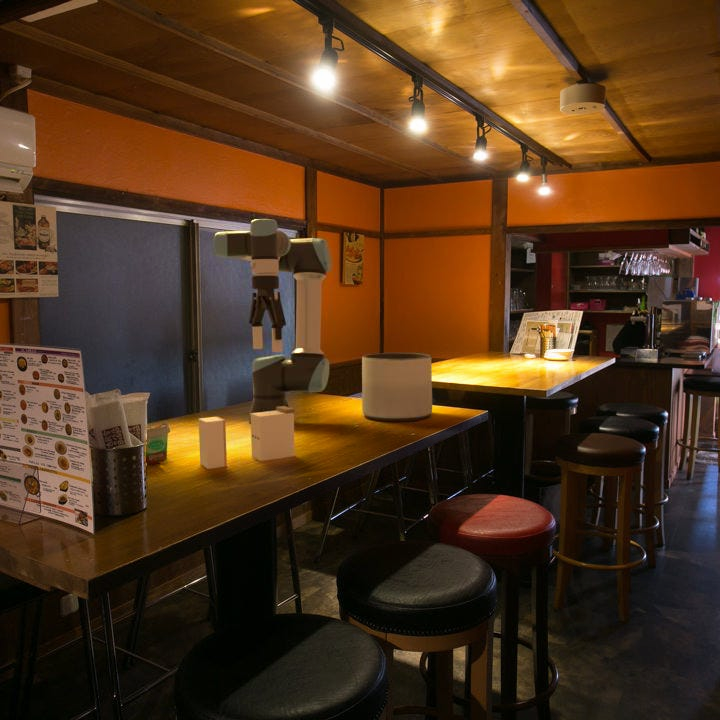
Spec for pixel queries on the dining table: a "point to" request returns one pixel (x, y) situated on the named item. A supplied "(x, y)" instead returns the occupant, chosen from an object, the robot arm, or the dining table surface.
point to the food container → (157, 444)
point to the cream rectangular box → (273, 434)
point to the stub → (212, 442)
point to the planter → (396, 386)
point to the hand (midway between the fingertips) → (267, 350)
